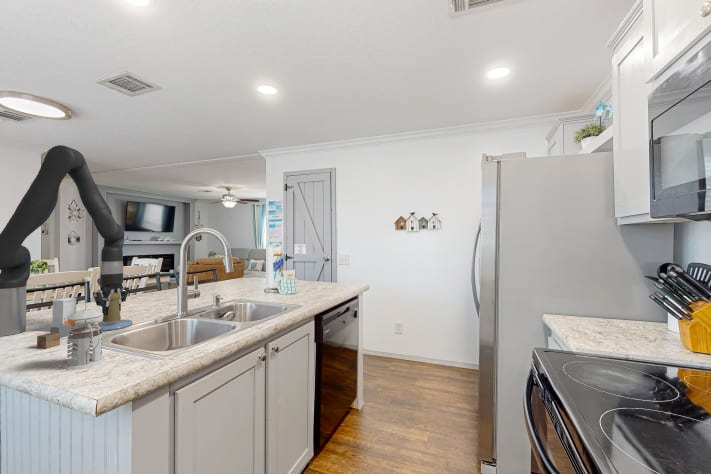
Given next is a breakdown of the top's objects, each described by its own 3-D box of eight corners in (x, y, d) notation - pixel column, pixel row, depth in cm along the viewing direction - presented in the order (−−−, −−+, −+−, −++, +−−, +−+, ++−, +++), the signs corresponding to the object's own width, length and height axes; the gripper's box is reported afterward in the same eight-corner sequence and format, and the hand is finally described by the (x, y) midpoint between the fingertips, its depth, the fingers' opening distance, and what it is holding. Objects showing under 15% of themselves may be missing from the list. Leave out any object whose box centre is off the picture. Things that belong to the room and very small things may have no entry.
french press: (97, 354, 100) (98, 274, 100) (115, 362, 94) (116, 276, 94) (56, 365, 92) (57, 277, 92) (73, 374, 86) (74, 280, 86)
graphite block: (50, 337, 116) (50, 326, 116) (62, 334, 120) (62, 323, 120) (58, 338, 115) (58, 327, 115) (70, 335, 119) (71, 324, 119)
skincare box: (62, 331, 123) (63, 300, 123) (51, 331, 123) (52, 300, 123) (76, 327, 129) (77, 297, 129) (66, 327, 129) (66, 297, 129)
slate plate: (79, 329, 126) (79, 327, 126) (114, 320, 139) (114, 318, 139) (108, 332, 122) (108, 330, 122) (140, 323, 136) (140, 320, 136)
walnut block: (36, 348, 105) (37, 335, 105) (51, 344, 109) (51, 332, 109) (46, 349, 104) (46, 336, 104) (59, 345, 108) (60, 333, 108)
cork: (124, 318, 134) (124, 291, 134) (112, 322, 128) (112, 294, 128) (111, 317, 134) (111, 291, 134) (98, 321, 128) (98, 293, 128)
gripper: (121, 270, 139) (120, 310, 139) (86, 273, 125) (86, 318, 125) (135, 270, 137) (134, 311, 137) (101, 274, 123) (101, 319, 123)
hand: (111, 314), depth 131 cm, fingers closed on cork, 4 cm apart
